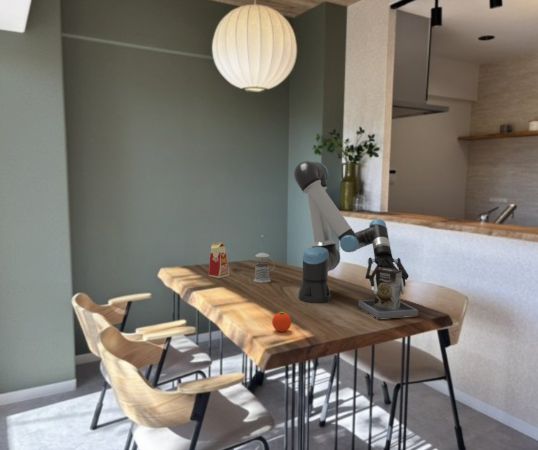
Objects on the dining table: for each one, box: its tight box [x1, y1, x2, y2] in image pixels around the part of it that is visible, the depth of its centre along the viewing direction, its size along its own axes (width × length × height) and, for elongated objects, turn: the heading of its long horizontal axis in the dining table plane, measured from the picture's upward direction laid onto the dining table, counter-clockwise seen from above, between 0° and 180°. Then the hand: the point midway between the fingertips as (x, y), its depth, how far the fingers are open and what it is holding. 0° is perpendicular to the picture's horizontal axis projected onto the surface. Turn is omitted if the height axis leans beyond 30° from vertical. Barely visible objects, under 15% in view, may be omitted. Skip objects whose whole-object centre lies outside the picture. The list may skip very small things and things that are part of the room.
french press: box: [253, 235, 276, 283], centre depth 236 cm, size 10×12×25 cm
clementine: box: [271, 311, 292, 333], centre depth 158 cm, size 8×7×7 cm
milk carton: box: [208, 241, 230, 279], centre depth 246 cm, size 9×9×20 cm
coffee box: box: [374, 267, 402, 310], centre depth 182 cm, size 9×6×16 cm
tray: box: [357, 299, 419, 320], centre depth 183 cm, size 18×18×3 cm
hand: (389, 292), depth 179 cm, fingers closed on coffee box, 10 cm apart
